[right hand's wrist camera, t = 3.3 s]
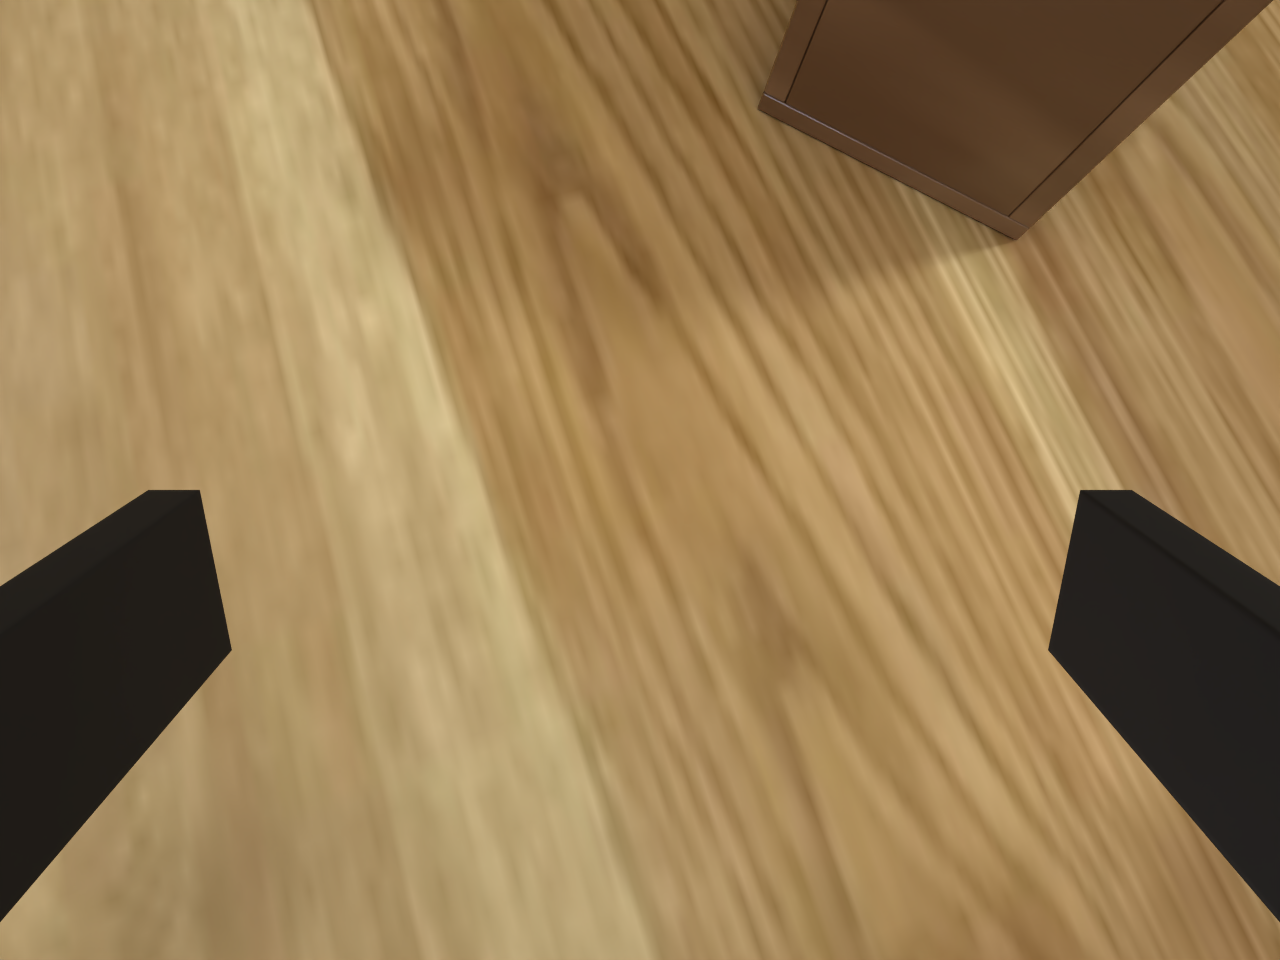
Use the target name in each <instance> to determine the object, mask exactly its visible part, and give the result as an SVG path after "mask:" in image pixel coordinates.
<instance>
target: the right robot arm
mask: <svg viewBox="0 0 1280 960" xmlns="http://www.w3.org/2000/svg"><path fill="white" fill-rule="evenodd" d="M231 650H232V649H231V644H230V639H229V634H228V629H227V624H226V619H225V614H224V609H223V604H222V599H221V594H220V589H219V584H218V579H217V574H216V569H215V564H214V559H213V554H212V549H211V544H210V539H209V534H208V529H207V524H206V519H205V514H204V509H203V504H202V499H201V494H200V490H148V491H146V492H145V493H143V494H142V495H140V496H139V497H137V498H135V499H134V500H132V501H131V502H129V503H128V504H126V505H125V506H123V507H122V508H120V509H119V510H117V511H115V512H114V513H112V514H111V515H109V516H108V517H106V518H105V519H103V520H102V521H100V522H99V523H97V524H95V525H94V526H92V527H91V528H89V529H88V530H86V531H85V532H83V533H82V534H80V535H79V536H77V537H75V538H74V539H72V540H71V541H69V542H68V543H66V544H65V545H63V546H62V547H60V548H59V549H57V550H55V551H54V552H52V553H51V554H49V555H48V556H46V557H45V558H43V559H42V560H40V561H39V562H37V563H35V564H34V565H32V566H31V567H29V568H28V569H26V570H25V571H23V572H22V573H20V574H19V575H17V576H16V577H14V578H12V579H11V580H9V581H8V582H6V583H5V584H3V585H2V586H0V922H1V921H2V919H3V918H4V917H5V916H6V915H7V913H8V912H9V911H10V910H11V909H12V908H13V906H14V905H15V904H16V903H17V902H18V901H19V899H20V898H21V897H22V896H23V895H24V894H25V892H26V891H27V890H28V889H29V888H30V886H31V885H32V884H33V883H34V882H35V881H36V879H37V878H38V877H39V876H40V875H41V874H42V872H43V871H44V870H45V869H46V868H47V866H48V865H49V864H50V863H51V862H52V861H53V859H54V858H55V857H56V856H57V855H58V854H59V852H60V851H61V850H62V849H63V848H64V847H65V845H66V844H67V843H68V842H69V841H70V839H71V838H72V837H73V836H74V835H75V834H76V832H77V831H78V830H79V829H80V828H81V827H82V825H83V824H84V823H85V822H86V821H87V819H88V818H89V817H90V816H91V815H92V814H93V812H94V811H95V810H96V809H97V808H98V807H99V805H100V804H101V803H102V802H103V801H104V800H105V798H106V797H107V796H108V795H109V794H110V792H111V791H112V790H113V789H114V788H115V787H116V785H117V784H118V783H119V782H120V781H121V780H122V778H123V777H124V776H125V775H126V774H127V773H128V771H129V770H130V769H131V768H132V767H133V765H134V764H135V763H136V762H137V761H138V760H139V758H140V757H141V756H142V755H143V754H144V753H145V751H146V750H147V749H148V748H149V747H150V745H151V744H152V743H153V742H154V741H155V740H156V738H157V737H158V736H159V735H160V734H161V733H162V731H163V730H164V729H165V728H166V727H167V726H168V724H169V723H170V722H171V721H172V720H173V718H174V717H175V716H176V715H177V714H178V713H179V711H180V710H181V709H182V708H183V707H184V706H185V704H186V703H187V702H188V701H189V700H190V698H191V697H192V696H193V695H194V694H195V693H196V691H197V690H198V689H199V688H200V687H201V686H202V684H203V683H204V682H205V681H206V680H207V679H208V677H209V676H210V675H211V674H212V673H213V671H214V670H215V669H216V668H217V667H218V666H219V664H220V663H221V662H222V661H223V660H224V659H225V657H226V656H227V655H228V654H229V653H230V651H231ZM1048 650H1049V651H1050V653H1051V654H1052V655H1053V656H1054V657H1055V659H1056V660H1057V661H1058V662H1059V663H1060V664H1061V666H1062V667H1063V668H1064V669H1065V670H1066V671H1067V673H1068V674H1069V675H1070V676H1071V677H1072V679H1073V680H1074V681H1075V682H1076V683H1077V684H1078V686H1079V687H1080V688H1081V689H1082V690H1083V691H1084V693H1085V694H1086V695H1087V696H1088V697H1089V698H1090V700H1091V701H1092V702H1093V703H1094V704H1095V706H1096V707H1097V708H1098V709H1099V710H1100V711H1101V713H1102V714H1103V715H1104V716H1105V717H1106V718H1107V720H1108V721H1109V722H1110V723H1111V724H1112V726H1113V727H1114V728H1115V729H1116V730H1117V731H1118V733H1119V734H1120V735H1121V736H1122V737H1123V738H1124V740H1125V741H1126V742H1127V743H1128V744H1129V745H1130V747H1131V748H1132V749H1133V750H1134V751H1135V753H1136V754H1137V755H1138V756H1139V757H1140V758H1141V760H1142V761H1143V762H1144V763H1145V764H1146V765H1147V767H1148V768H1149V769H1150V770H1151V771H1152V773H1153V774H1154V775H1155V776H1156V777H1157V778H1158V780H1159V781H1160V782H1161V783H1162V784H1163V785H1164V787H1165V788H1166V789H1167V790H1168V791H1169V792H1170V794H1171V795H1172V796H1173V797H1174V798H1175V800H1176V801H1177V802H1178V803H1179V804H1180V805H1181V807H1182V808H1183V809H1184V810H1185V811H1186V812H1187V814H1188V815H1189V816H1190V817H1191V818H1192V820H1193V821H1194V822H1195V823H1196V824H1197V825H1198V827H1199V828H1200V829H1201V830H1202V831H1203V832H1204V834H1205V835H1206V836H1207V837H1208V838H1209V839H1210V841H1211V842H1212V843H1213V844H1214V845H1215V847H1216V848H1217V849H1218V850H1219V851H1220V852H1221V854H1222V855H1223V856H1224V857H1225V858H1226V859H1227V861H1228V862H1229V863H1230V864H1231V865H1232V866H1233V868H1234V869H1235V870H1236V871H1237V872H1238V874H1239V875H1240V876H1241V877H1242V878H1243V879H1244V881H1245V882H1246V883H1247V884H1248V885H1249V886H1250V888H1251V889H1252V890H1253V891H1254V892H1255V894H1256V895H1257V896H1258V897H1259V898H1260V899H1261V901H1262V902H1263V903H1264V904H1265V905H1266V906H1267V908H1268V909H1269V910H1270V911H1271V912H1272V913H1273V915H1274V916H1275V917H1276V918H1277V919H1278V921H1279V922H1280V586H1278V585H1277V584H1275V583H1274V582H1272V581H1271V580H1269V579H1268V578H1266V577H1264V576H1263V575H1261V574H1260V573H1258V572H1257V571H1255V570H1254V569H1252V568H1251V567H1249V566H1248V565H1246V564H1245V563H1243V562H1241V561H1240V560H1238V559H1237V558H1235V557H1234V556H1232V555H1231V554H1229V553H1228V552H1226V551H1225V550H1223V549H1221V548H1220V547H1218V546H1217V545H1215V544H1214V543H1212V542H1211V541H1209V540H1208V539H1206V538H1205V537H1203V536H1201V535H1200V534H1198V533H1197V532H1195V531H1194V530H1192V529H1191V528H1189V527H1188V526H1186V525H1185V524H1183V523H1181V522H1180V521H1178V520H1177V519H1175V518H1174V517H1172V516H1171V515H1169V514H1168V513H1166V512H1165V511H1163V510H1161V509H1160V508H1158V507H1157V506H1155V505H1154V504H1152V503H1151V502H1149V501H1148V500H1146V499H1145V498H1143V497H1141V496H1140V495H1138V494H1137V493H1135V492H1134V491H1132V490H1080V494H1079V499H1078V504H1077V509H1076V514H1075V519H1074V524H1073V529H1072V534H1071V539H1070V544H1069V549H1068V554H1067V559H1066V564H1065V569H1064V574H1063V579H1062V584H1061V589H1060V594H1059V599H1058V604H1057V609H1056V614H1055V619H1054V624H1053V629H1052V634H1051V639H1050V644H1049V649H1048Z"/></svg>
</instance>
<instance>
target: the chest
mask: <svg viewBox="0 0 1280 960" xmlns="http://www.w3.org/2000/svg"><path fill="white" fill-rule="evenodd" d="M1272 1H1273V0H797V2H796V5H795V8H794V11H793V13H792V16H791V19H790V21H789V24H788V27H787V30H786V32H785V35H784V38H783V41H782V43H781V46H780V49H779V51H778V54H777V57H776V60H775V62H774V65H773V68H772V71H771V73H770V76H769V79H768V81H767V84H766V87H765V91H764V92H763V95H762V97H761V100H760V103H759V106H758V109H759V110H761V111H763V112H765V113H767V114H769V115H771V116H773V117H775V118H777V119H779V120H781V121H783V122H785V123H787V124H789V125H791V126H793V127H795V128H797V129H799V130H801V131H803V132H804V133H806V134H808V135H810V136H812V137H814V138H816V139H818V140H820V141H822V142H824V143H826V144H828V145H830V146H832V147H834V148H836V149H838V150H840V151H842V152H844V153H846V154H848V155H850V156H852V157H854V158H856V159H858V160H860V161H861V162H863V163H865V164H867V165H869V166H871V167H873V168H875V169H877V170H879V171H881V172H883V173H885V174H887V175H889V176H891V177H893V178H895V179H897V180H899V181H901V182H903V183H905V184H907V185H909V186H911V187H913V188H915V189H917V190H918V191H920V192H922V193H924V194H926V195H928V196H930V197H932V198H934V199H936V200H938V201H940V202H942V203H944V204H946V205H948V206H950V207H952V208H954V209H956V210H958V211H960V212H962V213H964V214H966V215H968V216H970V217H972V218H974V219H975V220H977V221H979V222H981V223H983V224H985V225H987V226H989V227H991V228H993V229H995V230H997V231H999V232H1001V233H1003V234H1005V235H1007V236H1009V237H1011V238H1013V239H1015V240H1017V239H1018V238H1020V237H1021V236H1022V235H1023V234H1024V233H1025V232H1026V231H1027V230H1028V229H1029V228H1030V227H1031V226H1032V225H1033V224H1035V223H1036V222H1037V221H1038V220H1039V219H1040V218H1041V217H1042V216H1043V215H1044V214H1045V213H1046V212H1047V211H1048V210H1049V209H1051V208H1052V207H1053V206H1054V205H1055V204H1056V203H1057V202H1058V201H1059V200H1060V199H1061V198H1062V197H1063V196H1064V195H1066V194H1067V193H1068V192H1069V191H1070V190H1071V189H1072V188H1073V187H1074V186H1075V185H1076V184H1077V183H1078V182H1079V181H1080V180H1082V179H1083V178H1084V177H1085V176H1086V175H1087V174H1088V173H1089V172H1090V171H1091V170H1092V169H1093V168H1094V167H1095V166H1097V165H1098V164H1099V163H1100V162H1101V161H1102V160H1103V159H1104V158H1105V157H1106V156H1107V155H1108V154H1109V153H1110V152H1111V151H1113V150H1114V149H1115V148H1116V147H1117V146H1118V145H1119V144H1120V143H1121V142H1122V141H1123V140H1124V139H1125V138H1126V137H1127V136H1129V135H1130V134H1131V133H1132V132H1133V131H1134V130H1135V129H1136V128H1137V127H1138V126H1139V125H1140V124H1141V123H1142V122H1144V121H1145V120H1146V119H1147V118H1148V117H1149V116H1150V115H1151V114H1152V113H1153V112H1154V111H1155V110H1156V109H1157V108H1158V107H1160V106H1161V105H1162V104H1163V103H1164V102H1165V101H1166V100H1167V99H1168V98H1169V97H1170V96H1171V95H1172V94H1173V93H1175V92H1176V91H1177V90H1178V89H1179V88H1180V87H1181V86H1182V85H1183V84H1184V83H1185V82H1186V81H1187V80H1188V79H1189V78H1191V77H1192V76H1193V75H1194V74H1195V73H1196V72H1197V71H1198V70H1199V69H1200V68H1201V67H1202V66H1203V65H1204V64H1206V63H1207V62H1208V61H1209V60H1210V59H1211V58H1212V57H1213V56H1214V55H1215V54H1216V53H1217V52H1218V51H1219V50H1220V49H1222V48H1223V47H1224V46H1225V45H1226V44H1227V43H1228V42H1229V41H1230V40H1231V39H1232V38H1233V37H1234V36H1235V35H1236V34H1238V33H1239V32H1240V31H1241V30H1242V29H1243V28H1244V27H1245V26H1246V25H1247V24H1248V23H1249V22H1250V21H1251V20H1253V19H1254V18H1255V17H1256V16H1257V15H1258V14H1259V13H1260V12H1261V11H1262V10H1263V9H1264V8H1265V7H1266V6H1267V5H1269V4H1270V3H1271V2H1272Z"/></svg>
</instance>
